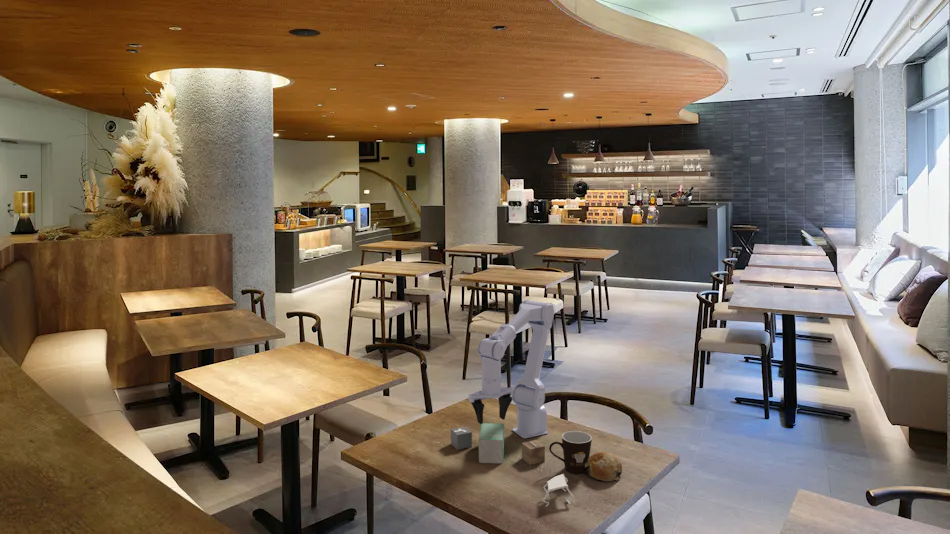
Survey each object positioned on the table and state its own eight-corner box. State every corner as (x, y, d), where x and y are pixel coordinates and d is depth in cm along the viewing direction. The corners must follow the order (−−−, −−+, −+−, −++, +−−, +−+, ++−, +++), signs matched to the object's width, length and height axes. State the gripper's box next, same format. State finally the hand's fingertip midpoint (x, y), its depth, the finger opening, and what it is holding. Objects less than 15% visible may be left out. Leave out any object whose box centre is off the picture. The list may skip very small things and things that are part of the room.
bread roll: (606, 496, 174) (620, 475, 171) (576, 471, 178) (589, 451, 175) (618, 481, 182) (631, 461, 179) (589, 458, 187) (602, 438, 184)
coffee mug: (593, 465, 185) (594, 433, 184) (588, 478, 177) (589, 445, 176) (554, 459, 189) (555, 428, 188) (548, 472, 181) (548, 439, 180)
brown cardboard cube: (535, 455, 192) (536, 439, 191) (544, 461, 188) (544, 445, 187) (521, 458, 190) (521, 442, 189) (530, 465, 186) (530, 448, 185)
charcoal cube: (465, 441, 202) (465, 425, 202) (471, 447, 198) (471, 431, 197) (450, 444, 200) (450, 428, 199) (457, 450, 196) (457, 434, 195)
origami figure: (572, 511, 160) (573, 493, 159) (540, 507, 162) (540, 489, 161) (577, 489, 171) (577, 472, 171) (546, 485, 173) (547, 468, 173)
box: (504, 444, 200) (504, 422, 199) (503, 464, 186) (503, 440, 185) (481, 444, 200) (481, 421, 199) (478, 463, 187) (478, 439, 186)
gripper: (475, 385, 184) (475, 429, 185) (518, 378, 190) (518, 420, 192) (465, 378, 190) (465, 421, 192) (507, 371, 196) (507, 413, 198)
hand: (491, 420), depth 192 cm, fingers open, 7 cm apart
